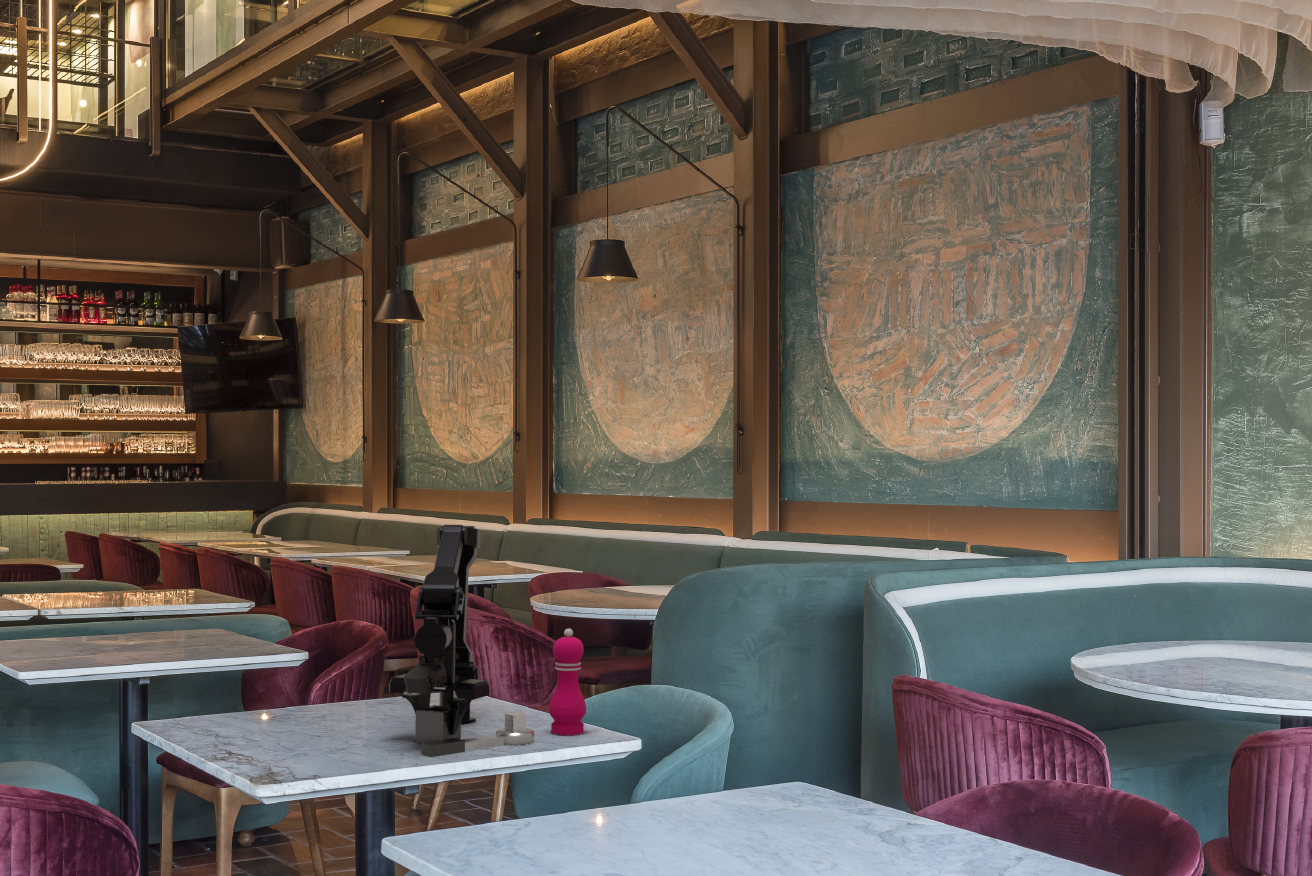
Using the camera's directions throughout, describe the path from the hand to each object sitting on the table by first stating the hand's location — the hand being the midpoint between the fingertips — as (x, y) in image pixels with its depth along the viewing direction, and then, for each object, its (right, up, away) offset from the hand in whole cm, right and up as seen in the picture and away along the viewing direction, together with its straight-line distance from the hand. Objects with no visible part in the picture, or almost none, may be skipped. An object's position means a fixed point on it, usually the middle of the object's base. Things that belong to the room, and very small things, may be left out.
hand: (438, 733), depth 236 cm
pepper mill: (+23, -2, +10) cm, 25 cm away
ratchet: (+8, -1, -5) cm, 10 cm away
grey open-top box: (0, -2, 0) cm, 2 cm away
